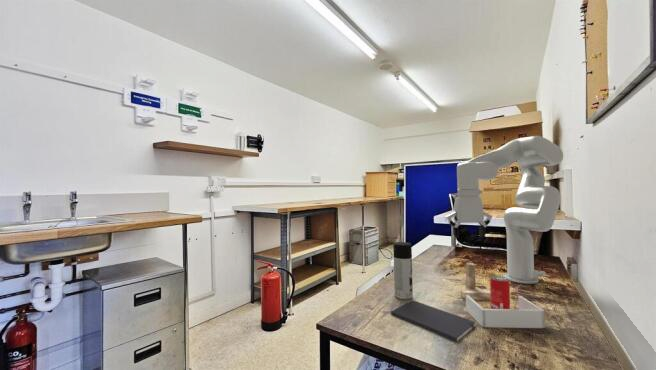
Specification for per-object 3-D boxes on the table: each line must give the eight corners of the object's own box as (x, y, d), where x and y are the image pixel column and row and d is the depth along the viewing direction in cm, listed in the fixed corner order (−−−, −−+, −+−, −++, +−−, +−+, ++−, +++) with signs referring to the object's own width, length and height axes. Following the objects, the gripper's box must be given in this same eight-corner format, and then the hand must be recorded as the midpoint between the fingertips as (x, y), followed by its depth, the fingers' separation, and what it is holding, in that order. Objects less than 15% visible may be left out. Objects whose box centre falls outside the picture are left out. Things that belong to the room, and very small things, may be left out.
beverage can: (487, 312, 88) (486, 275, 88) (502, 312, 88) (502, 275, 88) (497, 320, 83) (496, 281, 83) (514, 319, 83) (513, 280, 83)
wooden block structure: (484, 290, 107) (483, 262, 107) (497, 299, 98) (496, 269, 98) (453, 290, 108) (452, 262, 108) (463, 299, 99) (462, 269, 99)
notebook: (390, 315, 88) (457, 344, 72) (390, 311, 88) (457, 338, 72) (412, 304, 96) (476, 327, 80) (412, 300, 96) (476, 322, 80)
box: (521, 311, 89) (520, 295, 89) (545, 328, 78) (545, 310, 78) (466, 310, 90) (465, 295, 90) (482, 327, 79) (482, 310, 79)
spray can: (413, 300, 98) (412, 245, 98) (394, 299, 99) (393, 245, 100) (411, 293, 105) (410, 241, 105) (393, 292, 106) (393, 241, 106)
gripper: (485, 192, 110) (487, 235, 110) (442, 194, 111) (443, 235, 111) (496, 193, 102) (497, 238, 102) (449, 194, 103) (450, 239, 103)
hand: (469, 237), depth 107 cm, fingers open, 9 cm apart
